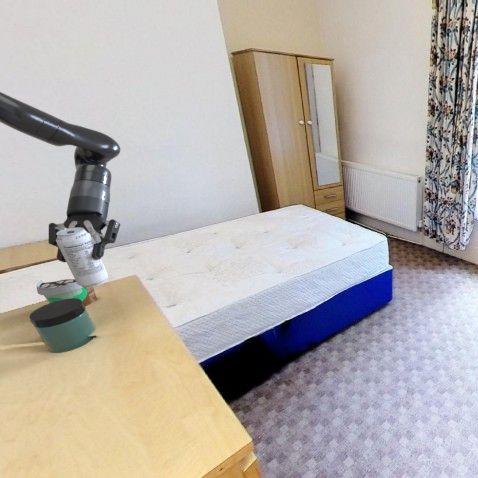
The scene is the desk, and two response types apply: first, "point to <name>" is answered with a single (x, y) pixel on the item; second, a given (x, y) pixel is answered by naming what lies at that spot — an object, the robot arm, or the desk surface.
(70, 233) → the energy drink can
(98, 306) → the desk surface
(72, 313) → the jar lid
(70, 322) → the jar
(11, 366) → the desk surface
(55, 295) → the food container
